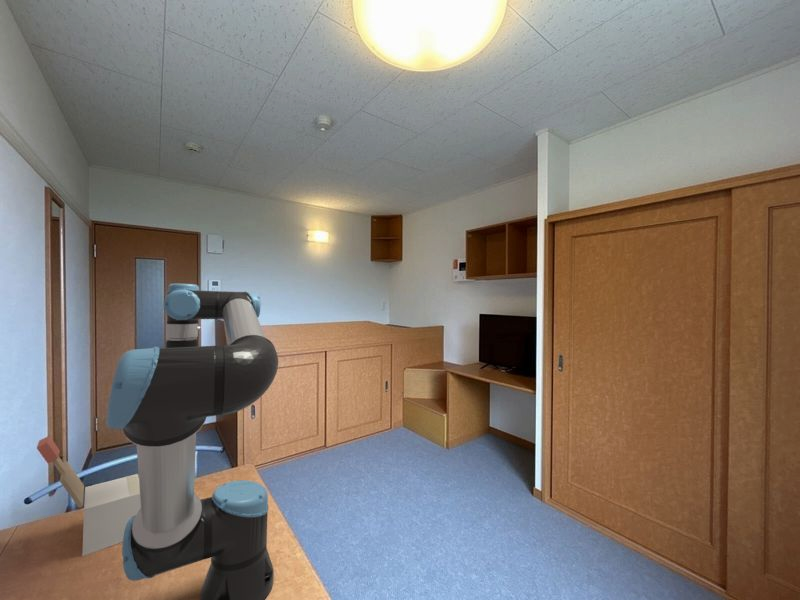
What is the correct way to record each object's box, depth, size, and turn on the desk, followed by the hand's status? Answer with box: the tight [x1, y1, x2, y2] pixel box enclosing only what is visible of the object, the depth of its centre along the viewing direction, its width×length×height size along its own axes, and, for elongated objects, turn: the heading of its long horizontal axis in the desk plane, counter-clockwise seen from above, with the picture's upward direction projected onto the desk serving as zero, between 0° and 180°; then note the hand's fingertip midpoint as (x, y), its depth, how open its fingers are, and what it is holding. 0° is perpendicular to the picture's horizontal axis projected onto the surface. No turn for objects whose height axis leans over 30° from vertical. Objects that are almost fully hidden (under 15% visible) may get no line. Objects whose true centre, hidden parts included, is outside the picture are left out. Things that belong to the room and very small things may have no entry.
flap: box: [36, 435, 85, 509], centre depth 90 cm, size 13×18×2 cm
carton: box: [82, 473, 141, 557], centre depth 97 cm, size 14×13×12 cm
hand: (179, 415), depth 94 cm, fingers open, 13 cm apart
